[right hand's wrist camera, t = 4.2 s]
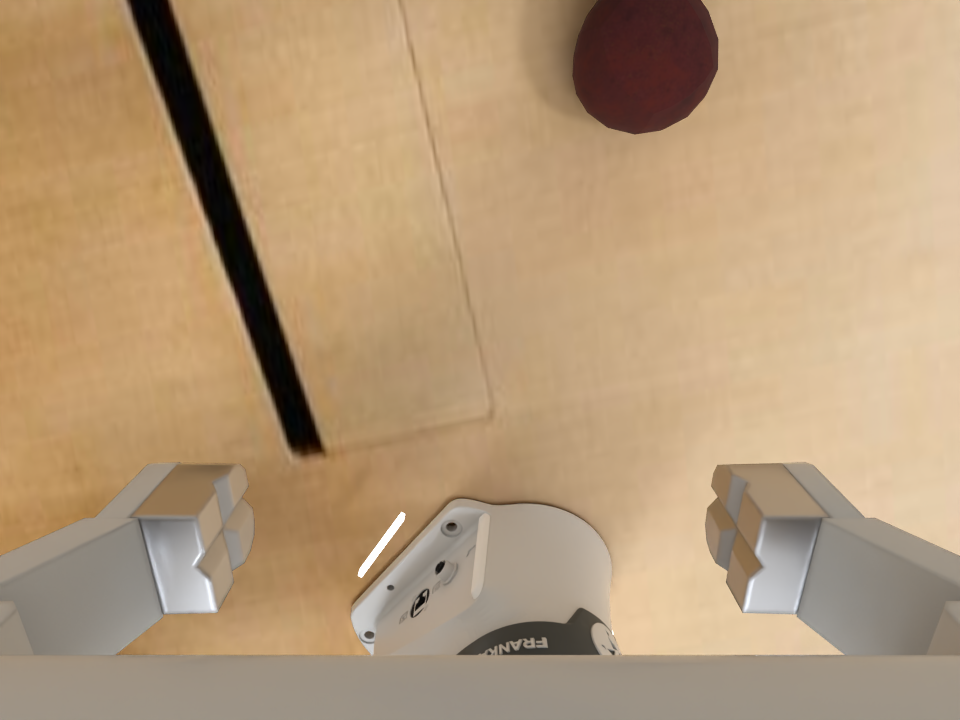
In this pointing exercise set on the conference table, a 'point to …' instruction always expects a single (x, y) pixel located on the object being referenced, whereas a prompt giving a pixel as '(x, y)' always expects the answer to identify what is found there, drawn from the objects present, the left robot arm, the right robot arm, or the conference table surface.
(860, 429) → the conference table surface
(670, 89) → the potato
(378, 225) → the conference table surface
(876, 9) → the conference table surface
